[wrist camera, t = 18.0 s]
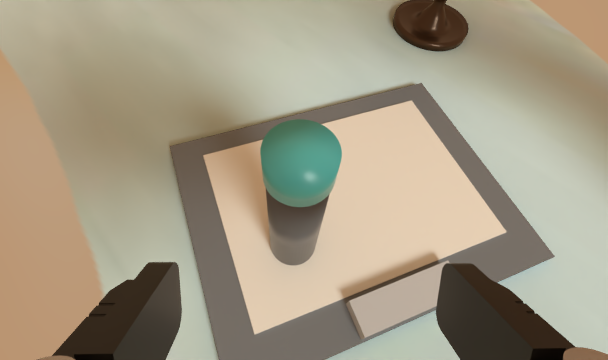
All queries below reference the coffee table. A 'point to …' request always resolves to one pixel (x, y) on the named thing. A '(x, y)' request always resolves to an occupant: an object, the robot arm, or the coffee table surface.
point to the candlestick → (430, 24)
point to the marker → (298, 185)
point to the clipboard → (347, 229)
